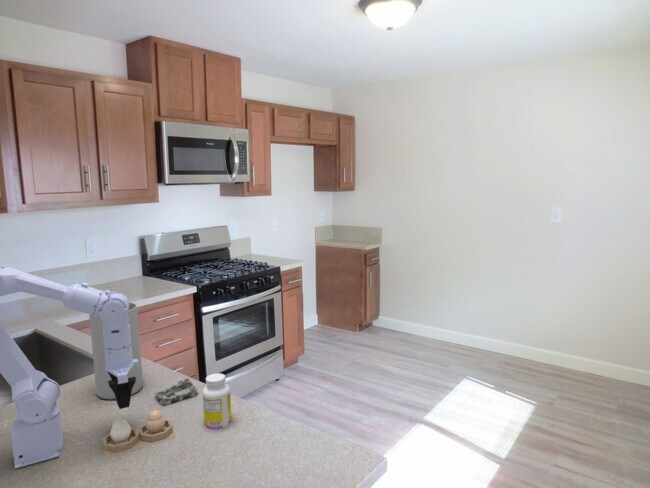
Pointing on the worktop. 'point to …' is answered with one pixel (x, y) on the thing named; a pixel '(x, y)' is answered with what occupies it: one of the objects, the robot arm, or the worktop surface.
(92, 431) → the worktop surface
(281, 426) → the worktop surface
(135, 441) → the egg tray
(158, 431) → the brown egg
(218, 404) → the supplement bottle
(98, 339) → the cylinder vase
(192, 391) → the egg carton
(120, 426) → the cream egg
